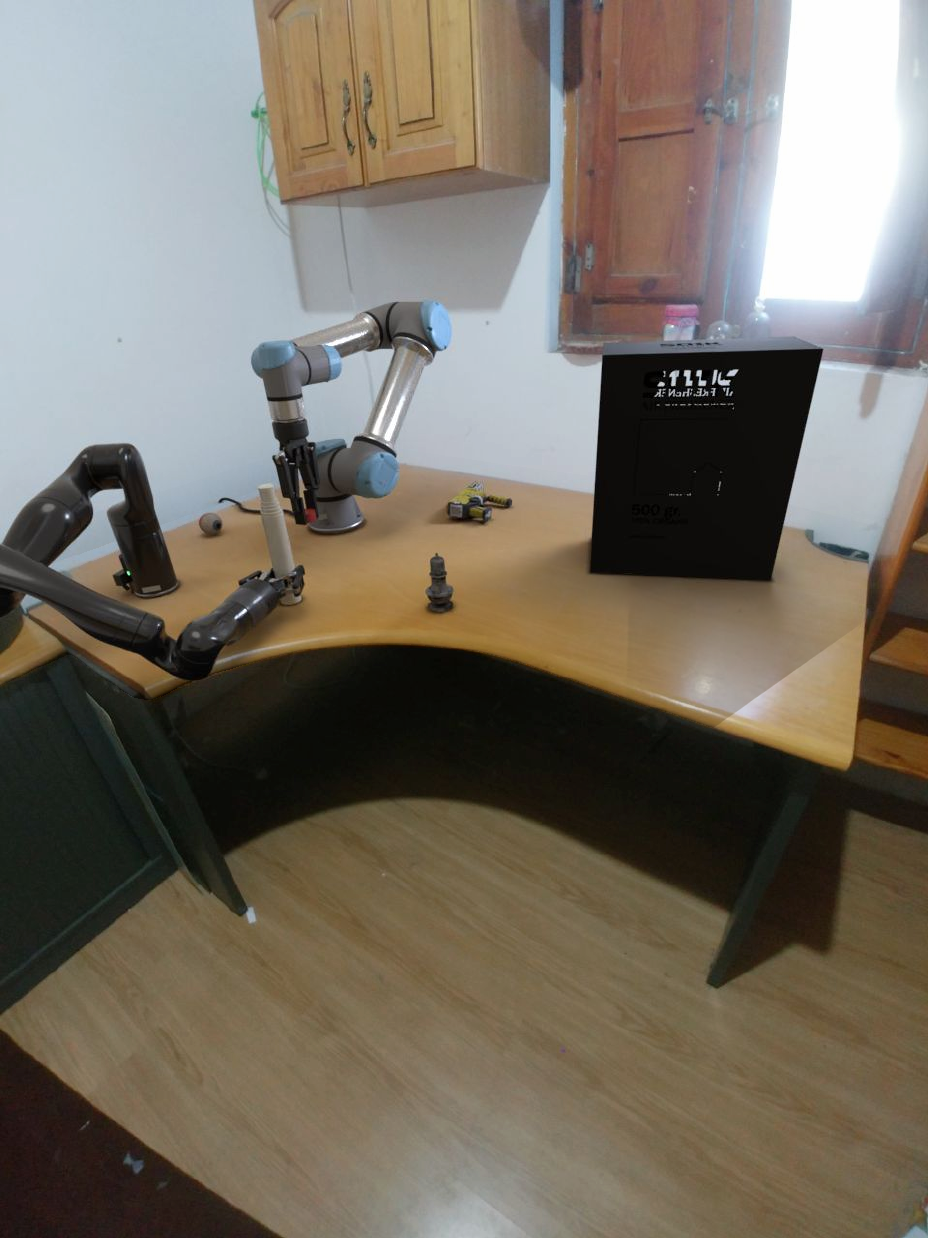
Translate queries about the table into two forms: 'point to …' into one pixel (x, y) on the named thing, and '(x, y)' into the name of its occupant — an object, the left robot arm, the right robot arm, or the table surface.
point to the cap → (310, 515)
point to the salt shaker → (439, 586)
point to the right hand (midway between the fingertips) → (307, 520)
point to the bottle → (277, 536)
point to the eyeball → (210, 523)
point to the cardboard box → (698, 455)
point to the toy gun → (474, 503)
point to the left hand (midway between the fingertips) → (291, 568)
